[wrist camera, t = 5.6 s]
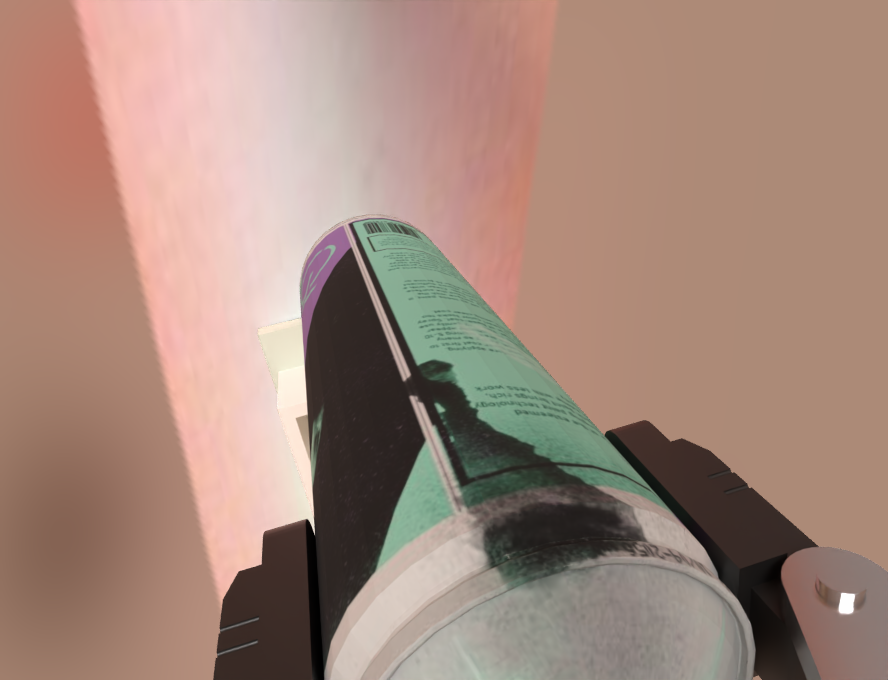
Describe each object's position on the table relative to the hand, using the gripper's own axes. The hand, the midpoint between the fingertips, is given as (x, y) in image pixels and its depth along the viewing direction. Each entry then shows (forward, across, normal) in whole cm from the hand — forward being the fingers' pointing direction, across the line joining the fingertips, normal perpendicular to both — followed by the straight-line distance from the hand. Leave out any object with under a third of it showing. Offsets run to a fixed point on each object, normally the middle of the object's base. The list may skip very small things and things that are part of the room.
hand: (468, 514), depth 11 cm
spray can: (+14, 0, 0) cm, 14 cm away
